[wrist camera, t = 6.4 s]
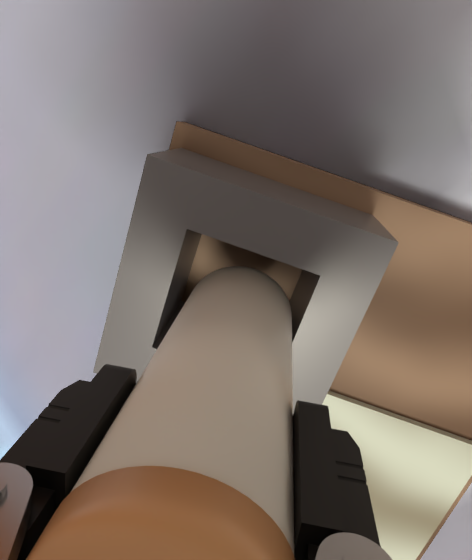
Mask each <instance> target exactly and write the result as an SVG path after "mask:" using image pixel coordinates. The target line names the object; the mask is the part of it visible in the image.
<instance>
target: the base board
mask: <svg viewBox="0 0 472 560" xmlns="http://www.w3.org/2000/svg"><path fill="white" fill-rule="evenodd" d="M178 148H183V149H186V150H189V151H192V152H194V153H197V154H200V155H203V156H206V157H209V158H211V159H214V160H217V161H220V162H223V163H226V164H229V165H231V166H234V167H237V168H240V169H243V170H246V171H249V172H251V173H254V174H257V175H260V176H263V177H266V178H268V179H271V180H274V181H277V182H280V183H283V184H286V185H288V186H291V187H294V188H297V189H300V190H303V191H306V192H308V193H311V194H314V195H317V196H320V197H323V198H325V199H328V200H331V201H334V202H337V203H340V204H343V205H345V206H348V207H351V208H354V209H357V210H360V211H363V212H365V213H368V214H371V215H373V216H374V217H375V218H376V219H377V220H378V221H379V222H380V223H381V224H382V225H383V226H384V227H385V228H386V229H387V230H388V232H389V233H390V234H391V235H392V236H393V237H394V238H395V239H396V240H397V241H398V242H399V243H398V246H397V248H396V250H395V252H394V254H393V256H392V258H391V260H390V262H389V264H388V267H387V269H386V271H385V273H384V275H383V277H382V279H381V281H380V283H379V286H378V288H377V290H376V292H375V294H374V296H373V298H372V300H371V302H370V305H369V307H368V309H367V311H366V313H365V315H364V317H363V319H362V321H361V323H360V326H359V328H358V330H357V332H356V334H355V336H354V338H353V340H352V342H351V345H350V347H349V349H348V351H347V353H346V355H345V357H344V359H343V361H342V363H341V366H340V368H339V370H338V372H337V374H336V376H335V378H334V380H333V382H332V385H331V387H330V389H329V391H328V393H327V395H326V397H325V399H324V401H323V403H322V405H326V406H328V408H329V415H330V423H331V428H332V429H337V430H343V431H348V433H349V434H350V435H351V437H352V438H353V440H354V441H355V442H356V444H357V445H358V447H359V448H360V452H361V456H362V461H363V469H364V471H365V475H366V480H367V482H366V485H368V490H369V494H370V499H371V504H372V509H373V513H374V518H375V523H376V527H377V532H378V537H379V542H380V546H381V548H382V549H384V550H385V552H386V553H387V554H388V555H389V556H390V557H391V558H392V560H420V559H421V557H422V556H423V554H424V553H425V551H426V550H427V548H428V547H429V545H430V544H431V542H432V541H433V539H434V538H435V536H436V535H437V533H438V532H439V530H440V529H441V527H442V526H443V524H444V523H445V521H446V520H447V518H448V517H449V515H450V514H451V512H452V511H453V509H454V508H455V506H456V505H457V503H458V502H459V500H460V499H461V497H462V496H463V494H464V493H465V491H466V490H467V488H468V487H469V485H470V484H471V482H472V223H471V222H469V221H466V220H463V219H460V218H457V217H454V216H452V215H449V214H446V213H443V212H440V211H437V210H434V209H432V208H429V207H426V206H423V205H420V204H417V203H414V202H412V201H409V200H406V199H403V198H400V197H397V196H394V195H392V194H389V193H386V192H383V191H380V190H377V189H375V188H372V187H369V186H366V185H363V184H360V183H357V182H355V181H352V180H349V179H346V178H343V177H340V176H337V175H335V174H332V173H329V172H326V171H323V170H320V169H318V168H315V167H312V166H309V165H306V164H303V163H300V162H298V161H295V160H292V159H289V158H286V157H283V156H280V155H278V154H275V153H272V152H269V151H266V150H263V149H260V148H258V147H255V146H252V145H249V144H246V143H243V142H241V141H238V140H235V139H232V138H229V137H226V136H223V135H221V134H218V133H215V132H212V131H209V130H206V129H203V128H201V127H198V126H195V125H192V124H189V123H186V122H179V121H176V125H175V129H174V133H173V137H172V140H171V144H170V148H169V150H173V149H178ZM231 266H243V267H249V268H253V269H256V270H259V271H261V272H263V273H265V274H267V275H268V276H270V277H271V278H272V279H274V280H275V281H276V282H277V283H278V284H279V285H280V287H281V288H282V289H283V291H284V292H285V294H286V296H287V298H288V300H289V302H290V299H291V297H292V294H293V292H294V289H295V287H296V284H297V282H298V279H299V277H300V274H301V272H302V269H300V268H297V267H294V266H291V265H289V264H286V263H283V262H280V261H277V260H274V259H271V258H269V257H266V256H263V255H260V254H257V253H254V252H252V251H249V250H246V249H243V248H240V247H237V246H234V245H232V244H229V243H226V242H223V241H220V240H217V239H215V238H212V237H209V236H206V235H203V234H202V235H201V238H200V241H199V245H198V248H197V251H196V254H195V258H194V261H193V264H192V267H191V271H190V274H189V277H188V280H187V284H186V287H185V290H184V293H183V296H182V300H181V301H183V302H186V301H187V299H188V297H189V296H190V294H191V292H192V291H193V289H194V288H195V286H196V285H197V284H198V283H199V282H200V281H201V280H202V279H203V278H204V277H205V276H207V275H208V274H210V273H211V272H213V271H216V270H218V269H221V268H225V267H231Z"/></svg>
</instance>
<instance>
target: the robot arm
mask: <svg viewBox="0 0 472 560" xmlns="http://www.w3.org/2000/svg"><path fill="white" fill-rule="evenodd" d="M136 381H137V372H136V370H135V369H131V368H126V367H120V366H115V365H110V364H105V365H104V366H103V367H102V368H101V369H100V371H99V372H98V373H97V375H96V376H95V377H94V378H93V380H92V381H91V382H88V381H82V380H79V381H77V382H75V383H73V384H71V385H70V386H68V387H66V388H64V389H62V390H61V391H60V392H59V393H58V394H57V395H56V397H55V398H54V399H53V400H52V401H51V402H50V403H49V406H48V407H46V408H45V409H44V410H43V411H42V413H41V414H40V415H39V417H38V419H36V420H35V421H34V422H33V423H32V424H31V425H30V426H29V428H28V429H27V430H26V431H25V432H24V433H23V434H22V436H21V437H20V438H19V439H18V440H17V441H16V443H15V444H14V445H13V446H12V447H11V448H10V449H9V451H8V452H7V453H6V454H5V455H4V456H3V457H2V459H1V460H0V560H26V558H27V556H28V555H29V553H30V552H31V550H32V548H33V547H34V545H35V543H36V542H37V540H38V539H39V537H40V535H41V534H42V532H43V530H44V529H45V527H46V526H47V524H48V522H49V521H50V519H51V517H52V516H53V514H54V513H55V511H56V509H57V508H58V507H59V505H60V504H61V502H62V501H63V500H64V499H65V498H66V497H67V496H68V495H69V494H70V492H71V491H72V489H73V487H74V486H75V484H76V482H77V481H78V479H79V477H80V476H81V474H82V472H83V471H84V469H85V468H86V466H87V464H88V463H89V461H90V459H91V458H92V456H93V454H94V453H95V451H96V449H97V448H98V446H99V444H100V443H101V441H102V439H103V438H104V436H105V434H106V433H107V431H108V430H109V428H110V426H111V425H112V423H113V421H114V420H115V418H116V416H117V415H118V413H119V411H120V410H121V408H122V406H123V405H124V403H125V401H126V400H127V398H128V397H129V395H130V393H131V392H132V390H133V388H134V387H135V385H136ZM293 479H294V557H295V560H392V558H391V557H390V556H389V555H388V554H387V553H386V552H385V550H384V549H382V548H381V546H380V542H379V537H378V532H377V527H376V523H375V518H374V513H373V509H372V504H371V499H370V494H369V490H368V485H366V482H367V480H366V475H365V471H364V469H363V461H362V456H361V452H360V448H359V447H358V445H357V444H356V442H355V441H354V440H353V438H352V437H351V435H350V434H349V433H348V431H343V430H337V429H332V428H331V423H330V415H329V408H328V406H326V405H321V404H316V403H310V402H305V401H300V400H297V402H296V405H295V409H294V414H293Z"/></svg>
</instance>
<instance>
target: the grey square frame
mask: <svg viewBox="0 0 472 560" xmlns="http://www.w3.org/2000/svg"><path fill="white" fill-rule="evenodd" d="M202 234H203V235H206V236H209V237H212V238H215V239H217V240H220V241H223V242H226V243H229V244H232V245H234V246H237V247H240V248H243V249H246V250H249V251H252V252H254V253H257V254H260V255H263V256H266V257H269V258H271V259H274V260H277V261H280V262H283V263H286V264H289V265H291V266H294V267H297V268H300V269H302V272H301V274H300V277H299V279H298V282H297V284H296V287H295V289H294V292H293V294H292V297H291V299H290V302H289V303H290V306H291V312H292V380H293V414H294V409H295V405H296V402H297V400H300V401H305V402H310V403H316V404H321V405H322V403H323V401H324V399H325V397H326V395H327V393H328V391H329V389H330V387H331V385H332V382H333V380H334V378H335V376H336V374H337V372H338V370H339V368H340V366H341V363H342V361H343V359H344V357H345V355H346V353H347V351H348V349H349V347H350V345H351V342H352V340H353V338H354V336H355V334H356V332H357V330H358V328H359V326H360V323H361V321H362V319H363V317H364V315H365V313H366V311H367V309H368V307H369V305H370V302H371V300H372V298H373V296H374V294H375V292H376V290H377V288H378V286H379V283H380V281H381V279H382V277H383V275H384V273H385V271H386V269H387V267H388V264H389V262H390V260H391V258H392V256H393V254H394V252H395V250H396V248H397V246H398V243H399V242H398V241H397V240H396V239H395V238H394V237H393V236H392V235H391V234H390V233H389V232H388V230H387V229H386V228H385V227H384V226H383V225H382V224H381V223H380V222H379V221H378V220H377V219H376V218H375V217H374V216H373V215H371V214H368V213H365V212H363V211H360V210H357V209H354V208H351V207H348V206H345V205H343V204H340V203H337V202H334V201H331V200H328V199H325V198H323V197H320V196H317V195H314V194H311V193H308V192H306V191H303V190H300V189H297V188H294V187H291V186H288V185H286V184H283V183H280V182H277V181H274V180H271V179H268V178H266V177H263V176H260V175H257V174H254V173H251V172H249V171H246V170H243V169H240V168H237V167H234V166H231V165H229V164H226V163H223V162H220V161H217V160H214V159H211V158H209V157H206V156H203V155H200V154H197V153H194V152H192V151H189V150H186V149H183V148H178V149H173V150H167V151H162V152H157V153H152V154H147V157H146V161H145V165H144V170H143V174H142V178H141V182H140V186H139V190H138V194H137V198H136V202H135V206H134V210H133V214H132V218H131V222H130V226H129V230H128V234H127V238H126V242H125V246H124V250H123V254H122V258H121V262H120V266H119V270H118V274H117V278H116V282H115V286H114V290H113V295H112V299H111V303H110V307H109V311H108V315H107V319H106V323H105V327H104V331H103V335H102V339H101V343H100V347H99V351H98V355H97V359H96V363H95V367H94V371H93V372H94V373H98V372H99V371H100V369H101V368H102V367H103V366H104V365H105V364H110V365H115V366H120V367H126V368H131V369H135V370H136V372H137V381H136V383H137V382H138V380H139V378H140V377H141V375H142V373H143V372H144V370H145V368H146V367H147V365H148V363H149V362H150V360H151V359H152V357H153V355H154V354H155V352H156V350H157V349H158V347H159V345H160V344H161V342H162V340H163V339H164V337H165V335H166V334H167V332H168V330H169V329H170V327H171V326H172V324H173V322H174V321H175V319H176V317H177V316H178V314H179V312H180V311H181V309H182V307H183V306H184V304H185V302H183V301H181V300H182V296H183V293H184V290H185V287H186V284H187V280H188V277H189V274H190V271H191V267H192V264H193V261H194V258H195V254H196V251H197V248H198V245H199V241H200V238H201V235H202Z"/></svg>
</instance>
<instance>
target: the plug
mask: <svg viewBox="0 0 472 560" xmlns="http://www.w3.org/2000/svg"><path fill="white" fill-rule="evenodd" d="M26 560H295V557H294V479H293V380H292V312H291V306H290V303H289V300H288V298H287V296H286V294H285V292H284V291H283V289H282V288H281V287H280V285H279V284H278V283H277V282H276V281H275V280H274V279H272V278H271V277H270V276H268V275H267V274H265V273H263V272H261V271H259V270H256V269H253V268H249V267H243V266H231V267H225V268H221V269H218V270H216V271H213V272H211V273H210V274H208V275H207V276H205V277H204V278H203V279H202V280H201V281H200V282H199V283H198V284H197V285H196V286H195V288H194V289H193V291H192V292H191V294H190V296H189V297H188V299H187V301H186V302H185V304H184V306H183V307H182V309H181V311H180V312H179V314H178V316H177V317H176V319H175V321H174V322H173V324H172V326H171V327H170V329H169V330H168V332H167V334H166V335H165V337H164V339H163V340H162V342H161V344H160V345H159V347H158V349H157V350H156V352H155V354H154V355H153V357H152V359H151V360H150V362H149V363H148V365H147V367H146V368H145V370H144V372H143V373H142V375H141V377H140V378H139V380H138V382H137V383H136V385H135V387H134V388H133V390H132V392H131V393H130V395H129V397H128V398H127V400H126V401H125V403H124V405H123V406H122V408H121V410H120V411H119V413H118V415H117V416H116V418H115V420H114V421H113V423H112V425H111V426H110V428H109V430H108V431H107V433H106V434H105V436H104V438H103V439H102V441H101V443H100V444H99V446H98V448H97V449H96V451H95V453H94V454H93V456H92V458H91V459H90V461H89V463H88V464H87V466H86V468H85V469H84V471H83V472H82V474H81V476H80V477H79V479H78V481H77V482H76V484H75V486H74V487H73V489H72V491H71V492H70V494H69V495H68V496H67V497H66V498H65V499H64V500H63V501H62V502H61V504H60V505H59V507H58V508H57V509H56V511H55V513H54V514H53V516H52V517H51V519H50V521H49V522H48V524H47V526H46V527H45V529H44V530H43V532H42V534H41V535H40V537H39V539H38V540H37V542H36V543H35V545H34V547H33V548H32V550H31V552H30V553H29V555H28V556H27V558H26Z"/></svg>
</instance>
